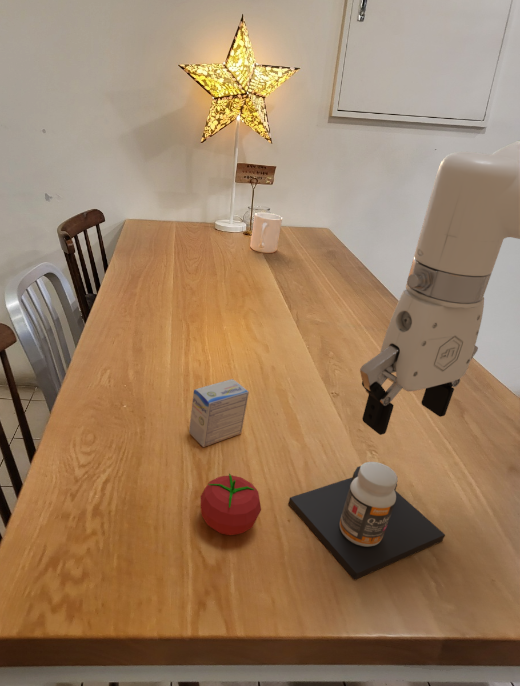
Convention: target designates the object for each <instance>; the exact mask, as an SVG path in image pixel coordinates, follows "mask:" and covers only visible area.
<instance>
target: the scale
mask: <svg viewBox="0 0 520 686" xmlns="http://www.w3.org/2000/svg"><path fill="white" fill-rule="evenodd" d="M360 467H361V465H359V466H356V468H355V470H354V471H353V474H352V477H349V478H346V479H342V480H340V481H336V482H333V483H331V484H327V485H324V486H321V487H318V488H314V489H312V490H309V491H306V492H303V493H299V494H296V495H293V496H290V497H289V499H288V505H289V506H290V507H291V509H292V510H293V511H294V513H295V514H297V515H298V517H299V518H300V519H301V520H302V521H303V523H304V524H305V525H306V526H307V527H308V528H309V529H310V531H311V532H312V533H313V534H314V535H315V536H316V537H317V539H318V540H319V541H320V542H321V543H322V545H323V546H324V547H325V549H327V551H328V552H329V553H330V554H331V555H332V556H333V557H334V558H335V560H336V561H337V562H338V563H339V564H340V566H342V568H343V569H344V570H345V571H346V572H347V574H348V575H349V576H350V577H351V578H352V579H353V580H354V581H355V580H358V579H360V578H362V577H364V576H367V575H369V574H371V573H374V572H376V571H378V570H380V569H383V568H385V567H387V566H390V565H391V564H394V563H396V562H398V561H401V560H402V559H406V558H407V557H410V556H412V555H414V554H416V553H419V552H421V551H422V550H425V549H428V548H430V547H432V546H434V545H437V544H438V543H439V544H440V543H441V542H443V541H444V539H445V536H446V534H445V533H444V532H443V531H441V529H439V528H438V527H437V526H436V525H435V524H434V523H433V522H431V521H430V520H429V519H428V518H427V517H426V516H425V515H424V514H422V513H421V511H419V510H418V508H416V507H415V506H413V504H411V503H410V502H409V501H408V500H407V499H406V498H404V496H403V495H401V494H400V493H399V492H398V491H397V487H398V483H397V484H396V487H395V489H394V490H395V493H396V502H395V505H394V507H393V510H392V513H391V516H390V518H389V521H388V524H387V527H386V530H385V533H384V535H383V538H382V540H381V541H380V542H379V543H378V544H377V545H375V546H370V547H365V546H360V545H357V544H354V543H353V542H351V541H349V540H348V539H347V538H346V537H345V536H344V535H343V534H342V532H341V529H340V519H341V515H342V512H343V509H344V505H345V502H346V499H347V495H348V492H349V488H350V485H351V483H352V481H353V480H354V479H355V478H356V477H358V472H359V470H360Z"/></svg>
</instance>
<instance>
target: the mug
mask: <svg viewBox="0 0 520 686" xmlns="http://www.w3.org/2000/svg"><path fill="white" fill-rule="evenodd" d="M252 223H253V224H252V231H251V237H250V244H249V245H250V246H249V247H250V249H251V250H253V251H255V252H258V253H262V254H273V253H276V251H277V250H278V246H279V240H280V234H281V227H282V223H283V216H281V215H279V214H276V213H273V212H272V213H271V212H265V211H261V212H260V211H259V212H255V213H254V217H253V222H252Z"/></svg>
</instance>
